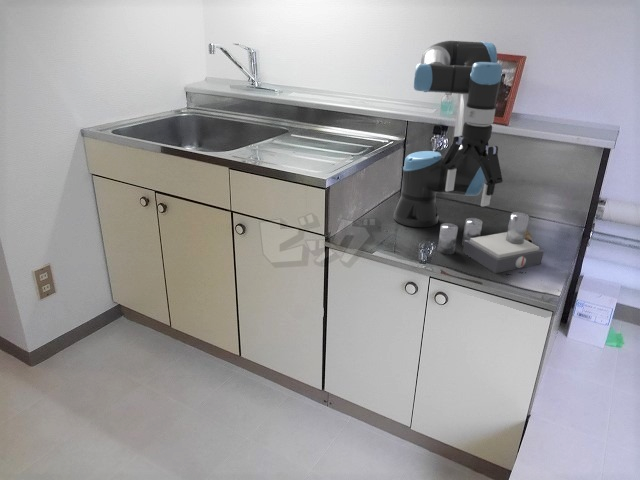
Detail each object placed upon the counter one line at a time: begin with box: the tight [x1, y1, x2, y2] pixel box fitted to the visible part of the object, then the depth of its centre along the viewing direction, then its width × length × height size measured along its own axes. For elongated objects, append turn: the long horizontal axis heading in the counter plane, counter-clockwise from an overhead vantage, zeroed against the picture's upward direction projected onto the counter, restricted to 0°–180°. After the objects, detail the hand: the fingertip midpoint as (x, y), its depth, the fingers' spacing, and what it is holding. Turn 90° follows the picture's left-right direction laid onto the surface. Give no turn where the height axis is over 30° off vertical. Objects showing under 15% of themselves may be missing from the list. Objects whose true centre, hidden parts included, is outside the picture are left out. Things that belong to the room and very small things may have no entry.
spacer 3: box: [506, 211, 530, 244], centre depth 149 cm, size 5×5×8 cm
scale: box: [462, 231, 545, 274], centre depth 150 cm, size 15×17×5 cm
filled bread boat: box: [507, 224, 533, 244], centre depth 164 cm, size 5×14×4 cm, turn 2°
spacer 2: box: [461, 217, 483, 247], centre depth 158 cm, size 5×5×8 cm
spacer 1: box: [437, 222, 459, 255], centre depth 153 cm, size 5×5×8 cm
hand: (466, 197), depth 147 cm, fingers open, 13 cm apart
